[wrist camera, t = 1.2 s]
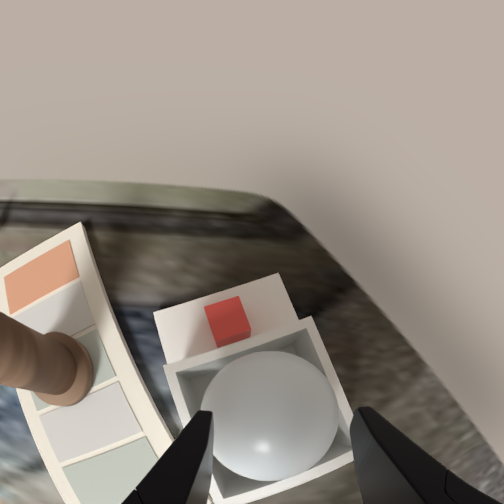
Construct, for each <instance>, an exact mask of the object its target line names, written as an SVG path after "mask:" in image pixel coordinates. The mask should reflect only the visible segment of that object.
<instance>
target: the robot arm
mask: <svg viewBox="0 0 504 504" xmlns="http://www.w3.org/2000/svg"><path fill="white" fill-rule="evenodd" d="M349 430H350V438H351V445H352V451H353V458H354V465H355V472H356V476H357V480H358V484H359V488H360V491H361V495H362V499H363V502H364V504H502V503H500V502H498V501H497V500H495V499H493V498H491V497H489V496H488V495H486V494H484V493H482V492H481V491H479V490H477V489H476V488H474V487H472V486H471V485H469V484H468V483H466V482H465V481H463V480H462V479H461V478H459V477H458V476H456V475H455V474H454V473H452V472H451V471H450V470H447V468H446V467H445V466H443V465H442V464H441V463H439V462H438V461H437V460H436V459H434V458H433V457H432V456H430V455H429V454H428V453H427V452H425V451H424V450H423V449H422V448H420V447H419V446H418V445H417V444H415V443H414V442H413V441H412V440H410V439H409V438H408V437H407V436H405V435H404V434H403V433H402V432H400V431H399V430H398V429H397V428H396V427H394V426H393V425H392V424H391V423H389V422H388V421H387V420H386V419H385V418H383V417H382V416H381V415H380V414H379V413H377V412H376V411H375V410H374V409H373V408H371V407H369V406H367V407H358V408H357V409H356V410H355V412H354V415H353V418H352V421H351V424H350V429H349ZM213 444H214V421H213V412H212V411H207V410H199V411H197V412H196V413H195V415H194V416H193V417H192V419H191V420H190V421H189V422H188V424H187V425H186V426H185V427H184V429H183V430H182V431H181V433H180V434H179V435H178V436H177V438H176V439H175V440H174V441H173V443H172V444H171V445H170V446H169V447H168V449H167V450H166V451H165V452H164V454H163V455H162V456H161V457H160V459H159V460H158V461H157V462H156V463H155V465H154V466H153V467H152V468H151V469H150V471H149V472H148V473H147V474H146V475H145V477H144V478H143V479H142V480H141V481H140V483H139V484H138V485H137V486H136V487H135V489H136V490H135V489H134V490H133V491H132V492H131V493H130V494H129V495H128V497H127V498H126V499H125V500H124V501H123V502H122V503H121V504H207V500H208V495H209V490H210V485H211V478H212V463H213Z"/></svg>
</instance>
